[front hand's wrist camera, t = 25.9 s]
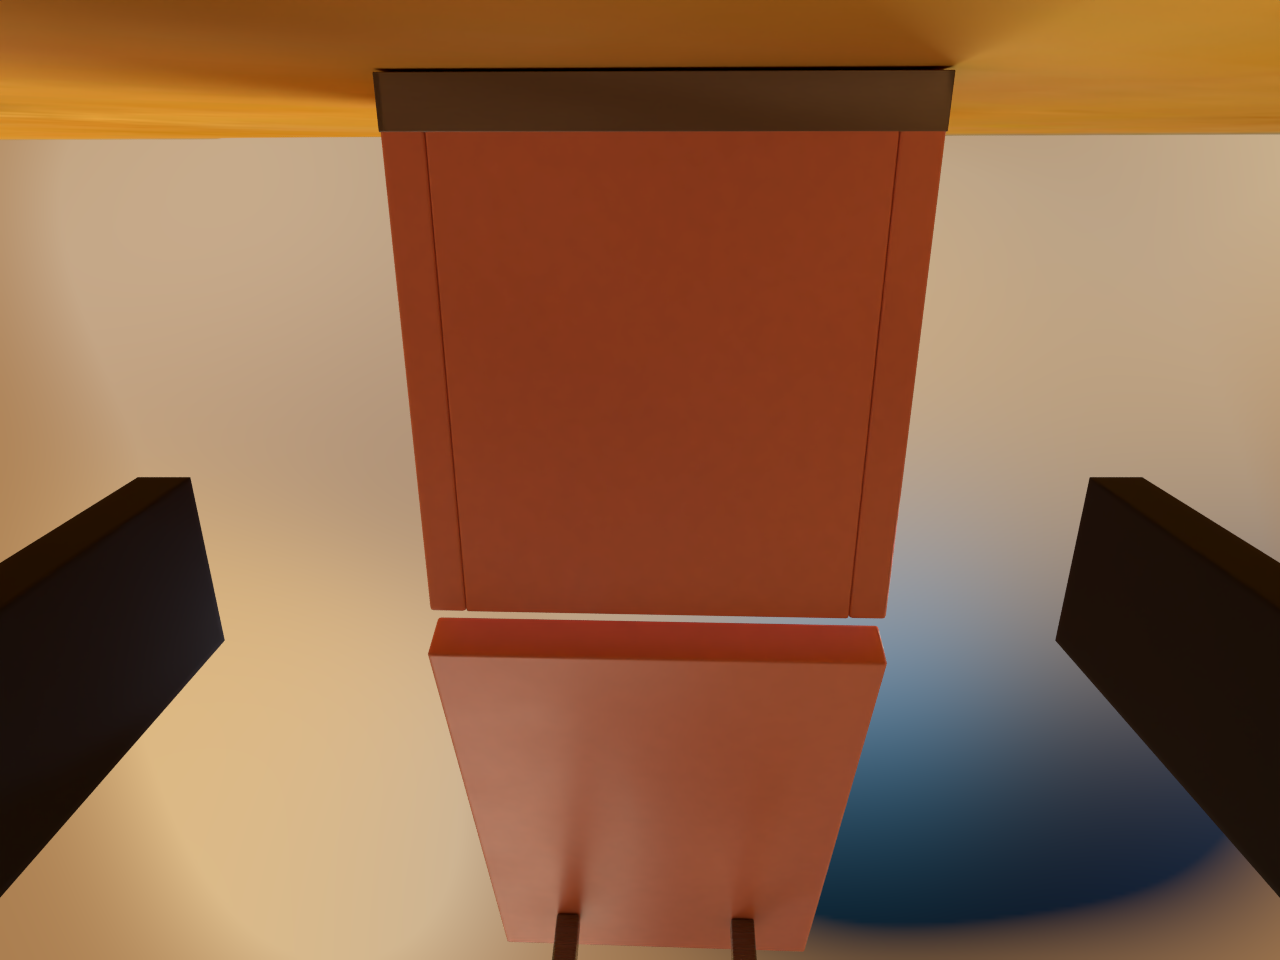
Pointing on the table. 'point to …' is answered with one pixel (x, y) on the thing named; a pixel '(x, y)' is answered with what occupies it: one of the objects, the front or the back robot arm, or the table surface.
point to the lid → (657, 773)
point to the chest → (662, 331)
